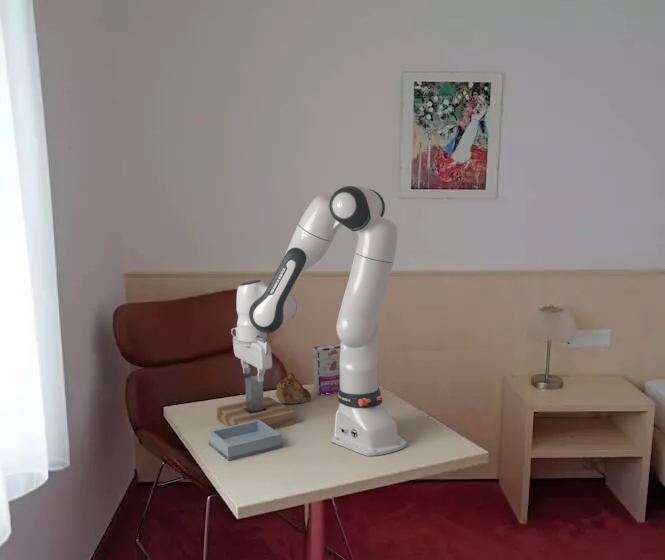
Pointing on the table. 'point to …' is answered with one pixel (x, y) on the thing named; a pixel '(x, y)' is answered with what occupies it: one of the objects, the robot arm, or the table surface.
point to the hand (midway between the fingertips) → (253, 377)
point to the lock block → (257, 414)
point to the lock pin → (254, 395)
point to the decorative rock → (291, 391)
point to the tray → (244, 440)
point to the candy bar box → (327, 368)
